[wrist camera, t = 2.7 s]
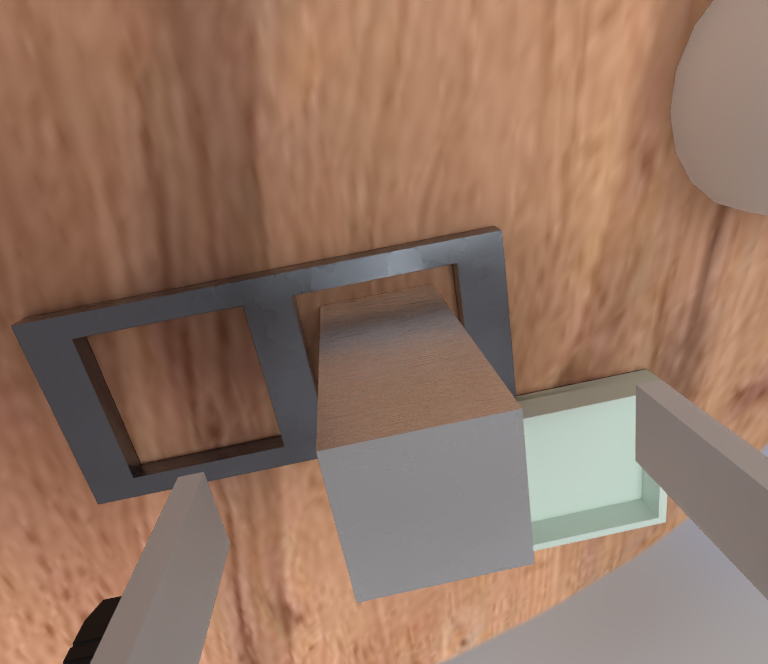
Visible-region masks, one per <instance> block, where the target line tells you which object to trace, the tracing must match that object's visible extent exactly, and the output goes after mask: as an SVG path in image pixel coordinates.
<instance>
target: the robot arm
mask: <svg viewBox="0 0 768 664" xmlns="http://www.w3.org/2000/svg"><path fill="white" fill-rule="evenodd" d="M635 461H636V462H637V463H638V464H639V465H640V466H641V467H642V468H643V469H644V470H645V471H646V472H647V473H648V474H649V476H650V477H651V478H652V479H653V480H654V481H655V482H656V483H657V484H658V485H659V486H660V487H661V488H662V489H663V490H664V491H665V492H666V493H667V494H668V496H669V497H670V498H671V499H672V500H673V501H674V502H675V503H676V504H677V505H678V506H679V507H680V508H681V509H682V510H683V511H684V512H685V513H686V514H687V516H688V517H689V518H690V519H691V520H692V521H693V522H694V523H695V524H696V525H697V526H698V527H699V528H700V529H701V530H702V531H703V532H704V533H705V534H706V535H707V536H708V538H710V540H711V541H712V542H713V543H714V544H715V545H716V546H717V547H718V548H719V549H720V550H721V551H722V552H723V553H724V554H725V555H726V557H728V559H729V560H730V561H731V562H732V563H733V564H734V565H735V566H736V567H737V568H738V569H739V570H740V571H741V572H742V573H743V574H744V575H745V577H746V578H747V579H748V580H749V581H750V582H751V583H752V584H753V585H754V586H755V587H756V588H757V589H758V590H759V591H760V592H761V593H762V594H763V595H764V596H765V598H766V599H767V600H768V457H767V456H765V455H764V454H763V453H761V452H760V451H758V450H757V449H756V448H754V447H753V446H752V445H750V444H749V443H747V442H746V441H745V440H743V439H742V438H740V437H739V436H738V435H736V434H735V433H734V432H732V431H731V430H729V429H728V428H727V427H725V426H724V425H722V424H721V423H720V422H718V421H717V420H716V419H714V418H713V417H711V416H710V415H709V414H707V413H706V412H704V411H703V410H702V409H700V408H699V407H698V406H696V405H695V404H693V403H692V402H691V401H689V400H688V399H687V398H685V397H684V396H682V395H681V394H680V393H678V392H677V391H675V390H674V389H673V388H671V387H670V386H669V385H667V384H666V383H664V382H663V381H662V380H657V381H652V382H647V383H642V384H637V385H636V432H635ZM229 546H230V542H229V539H228V536H227V533H226V531H225V528H224V525H223V523H222V520H221V517H220V514H219V512H218V509H217V506H216V504H215V501H214V498H213V495H212V493H211V490H210V487H209V485H208V482H207V479H206V476H205V474H204V472H201V473H196V474H191V475H186V476H181V477H178V478H177V480H176V483H175V485H174V487H173V489H172V491H171V493H170V495H169V497H168V500H167V502H166V504H165V506H164V508H163V510H162V512H161V514H160V516H159V519H158V521H157V523H156V525H155V527H154V529H153V531H152V533H151V536H150V538H149V540H148V542H147V544H146V546H145V548H144V550H143V553H142V555H141V557H140V559H139V561H138V563H137V565H136V567H135V570H134V572H133V574H132V576H131V578H130V580H129V582H128V584H127V586H126V589H125V591H124V593H123V595H122V596H120V597H115V598H110V599H105V600H103V601H102V602H101V603H100V604H99V605H98V606H97V608H96V609H95V610H94V611H93V612H92V613H91V614H90V615H89V616H88V618H87V619H86V620H85V621H84V623H83V625H82V627H81V629H80V631H79V632H78V634H77V636H76V638H75V640H74V642H73V647H72V648H70V650H69V651H68V653H67V655H66V657H65V659H64V661H63V664H199V661H200V657H201V653H202V649H203V646H204V642H205V638H206V634H207V630H208V627H209V623H210V619H211V615H212V611H213V607H214V604H215V600H216V596H217V592H218V588H219V585H220V581H221V577H222V573H223V569H224V566H225V562H226V558H227V554H228V550H229Z"/></svg>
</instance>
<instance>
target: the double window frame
mask: <svg viewBox="0 0 768 664" xmlns="http://www.w3.org/2000/svg"><path fill="white" fill-rule="evenodd" d="M450 264H453V272H454V280H455V288H456V296H457V304H458V312H459V320H460V323H461V324H462V326H463V327H464V328H465V330H466V331H467V333H468V334H469V335H470V337H471V338H472V340H473V341H474V342H475V344H476V345H477V346H478V348H479V349H480V351H481V352H482V353H483V355H484V356H485V358H486V359H487V360H488V362H489V363H490V364H491V366H492V367H493V369H494V370H495V371H496V373H497V374H498V376H499V377H500V378H501V380H502V381H503V382H504V384H505V385H506V387H507V388H508V389H509V391H510V392H511V394H512V395H513V396H514V398H515V399H516V391H515V379H514V367H513V355H512V343H511V331H510V319H509V307H508V295H507V283H506V271H505V259H504V247H503V235H502V230H501V229H499V228H497V227H495V226H493V227H487V228H482V229H477V230H472V231H467V232H462V233H457V234H452V235H446V236H441V237H436V238H431V239H426V240H421V241H416V242H411V243H405V244H400V245H395V246H390V247H385V248H380V249H375V250H370V251H364V252H359V253H354V254H349V255H344V256H339V257H334V258H329V259H323V260H318V261H313V262H308V263H303V264H298V265H293V266H288V267H282V268H277V269H272V270H267V271H262V272H257V273H252V274H247V275H241V276H236V277H231V278H226V279H221V280H216V281H211V282H206V283H200V284H195V285H190V286H185V287H180V288H175V289H170V290H165V291H159V292H154V293H149V294H144V295H139V296H134V297H129V298H124V299H118V300H113V301H108V302H103V303H98V304H93V305H88V306H83V307H77V308H72V309H67V310H62V311H57V312H52V313H47V314H42V315H36V316H31V317H26V318H24V319H22V320H20V321H19V322H17V323H15V324H14V325H12V326H11V327H12V329H13V331H14V333H15V335H16V337H17V339H18V341H19V344H20V346H21V348H22V350H23V352H24V354H25V356H26V358H27V360H28V362H29V364H30V366H31V368H32V370H33V372H34V374H35V376H36V378H37V380H38V382H39V385H40V387H41V389H42V391H43V393H44V395H45V397H46V399H47V401H48V403H49V405H50V407H51V409H52V411H53V413H54V415H55V417H56V419H57V421H58V423H59V426H60V428H61V430H62V432H63V434H64V436H65V438H66V440H67V442H68V444H69V446H70V448H71V450H72V452H73V454H74V456H75V458H76V460H77V462H78V464H79V467H80V469H81V471H82V473H83V475H84V477H85V479H86V481H87V483H88V485H89V487H90V489H91V491H92V493H93V495H94V497H95V499H96V501H97V503H98V504H103V503H107V502H112V501H117V500H122V499H126V498H131V497H136V496H141V495H146V494H150V493H155V492H160V491H165V490H170V489H173V487H174V485H175V483H176V480H177V478H178V477H181V476H186V475H191V474H196V473H201V472H204V474H205V476H206V479H207V482H208V481H213V480H217V479H222V478H227V477H232V476H236V475H241V474H246V473H251V472H256V471H260V470H265V469H270V468H275V467H280V466H284V465H289V464H294V463H299V462H303V461H308V460H313V459H318V457H317V453H316V439H317V407H318V387H317V383H316V379H315V375H314V371H313V367H312V363H311V359H310V356H309V352H308V348H307V344H306V340H305V336H304V332H303V328H302V324H301V320H300V316H299V312H298V308H297V304H296V300H295V296H294V295H298V294H303V293H308V292H313V291H318V290H323V289H328V288H333V287H338V286H343V285H348V284H354V283H359V282H364V281H369V280H374V279H379V278H384V277H389V276H394V275H399V274H404V273H409V272H414V271H419V270H425V269H430V268H435V267H440V266H445V265H450ZM242 305H243V307H244V310H245V314H246V317H247V321H248V324H249V327H250V331H251V334H252V337H253V341H254V344H255V348H256V351H257V354H258V358H259V361H260V365H261V368H262V371H263V375H264V378H265V382H266V385H267V388H268V392H269V395H270V398H271V402H272V405H273V409H274V412H275V415H276V419H277V422H278V426H279V429H280V432H281V436H278V437H273V438H268V439H264V440H259V441H254V442H249V443H244V444H239V445H235V446H230V447H225V448H220V449H215V450H210V451H206V452H201V453H196V454H191V455H186V456H181V457H177V458H172V459H167V460H162V461H157V462H152V463H148V464H143V465H141V464H140V462H139V459H138V457H137V455H136V452H135V450H134V448H133V445H132V443H131V441H130V438H129V436H128V434H127V431H126V429H125V427H124V424H123V422H122V420H121V417H120V415H119V413H118V410H117V408H116V406H115V404H114V401H113V399H112V397H111V394H110V392H109V390H108V387H107V385H106V383H105V380H104V378H103V376H102V373H101V371H100V369H99V366H98V364H97V362H96V359H95V357H94V355H93V352H92V350H91V348H90V346H89V343H88V341H87V339H86V336H90V335H95V334H100V333H105V332H110V331H115V330H120V329H125V328H130V327H136V326H141V325H146V324H151V323H156V322H161V321H166V320H171V319H176V318H181V317H186V316H191V315H196V314H201V313H207V312H212V311H217V310H222V309H227V308H232V307H237V306H242Z"/></svg>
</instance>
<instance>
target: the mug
mask: <svg viewBox="0 0 768 664" xmlns="http://www.w3.org/2000/svg"><path fill="white" fill-rule="evenodd" d="M670 118H671V125H672V132H673V139H674V146H675V152H676V154H677V156H678V158H679V160H680V162H681V164H682V166H683V168H684V170H685V172H686V174H687V176H688V178H689V179H690V181H691V183H692V184H693V185H695V186H696V187H697V188H698V189H699V190H701V191H702V192H703V193H704V194H705V195H706V196H708V197H709V198H710V199H711V200H712V201H714V202H715V203H718V204H721V205H724V206H727V207H731V208H734V209H737V210H741V211H744V212H749V213H754V214H760V215H766V216H768V0H713V1H712V3H711V4H710V5H709V7H708V8H707V9H706V11H705V12H704V13H703V15H702V16H701V18H700V19H699V20H698V22H697V23H696V24H695V26H694V28H693V31H692V33H691V36H690V38H689V40H688V43H687V45H686V48H685V50H684V52H683V55H682V57H681V60H680V62H679V65H678V67H677V69H676V75H675V82H674V89H673V96H672V103H671V110H670Z"/></svg>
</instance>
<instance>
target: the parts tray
mask: <svg viewBox="0 0 768 664" xmlns="http://www.w3.org/2000/svg"><path fill="white" fill-rule="evenodd" d="M657 380H661V379H660V378H658V377H657V376H656V375H654V374H653V373H651V372H650V371H649V370H647V369H645V370H640V371H635V372H631V373H626V374H621V375H616V376H611V377H606V378H602V379H597V380H592V381H587V382H582V383H578V384H573V385H568V386H563V387H558V388H553V389H549V390H544V391H539V392H534V393H529V394H525V395H520V396H516V400H517V402H518V403H519V405H520V406H521V407H522V411H523V424H524V436H525V449H526V462H527V474H528V487H529V500H530V513H531V525H532V538H533V551H536V550H541V549H545V548H550V547H554V546H559V545H564V544H568V543H573V542H577V541H582V540H586V539H591V538H595V537H600V536H605V535H609V534H614V533H618V532H623V531H627V530H632V529H637V528H641V527H646V526H650V525H655V524H659V523H664V522H666V507H667V493H666V492H665V491H664V490H663V489H662V488H661V487H660V486H659V485H658V484H657V483H656V482H655V481H654V480H653V479H652V478H651V477H650V476H649V474H648V473H647V472H646V471H645V470H644V469H643V468H642V467H641V466H640V465H639V464H638V463H637V462H636V461H635V432H636V385H637V384H642V383H647V382H652V381H657ZM662 381H663V380H662ZM663 382H664V381H663ZM664 383H665V382H664ZM666 384H667V383H666ZM667 385H668V384H667ZM670 387H671V386H670ZM671 388H672V387H671Z"/></svg>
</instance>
